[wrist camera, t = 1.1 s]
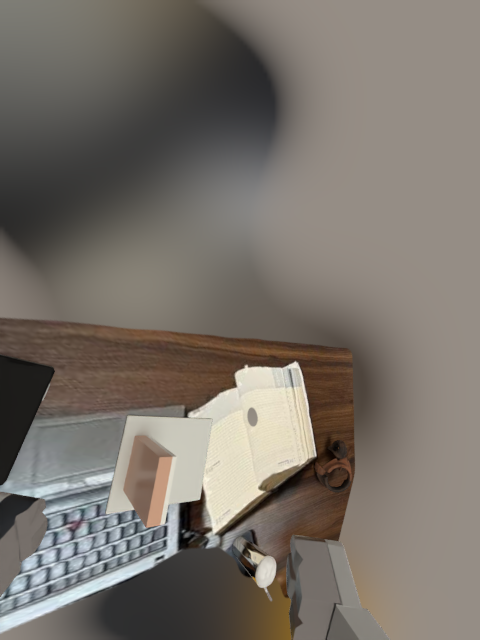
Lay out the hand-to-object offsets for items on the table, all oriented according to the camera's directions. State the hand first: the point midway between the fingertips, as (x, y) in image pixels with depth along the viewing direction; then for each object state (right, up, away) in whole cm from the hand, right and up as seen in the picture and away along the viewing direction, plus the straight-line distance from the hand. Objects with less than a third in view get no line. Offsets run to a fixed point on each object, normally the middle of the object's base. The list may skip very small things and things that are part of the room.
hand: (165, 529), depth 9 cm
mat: (-10, -17, +38) cm, 43 cm away
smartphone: (-29, -6, +26) cm, 39 cm away
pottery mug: (+25, -30, +63) cm, 74 cm away
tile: (-14, -16, +35) cm, 41 cm away
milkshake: (+2, -38, +45) cm, 59 cm away
